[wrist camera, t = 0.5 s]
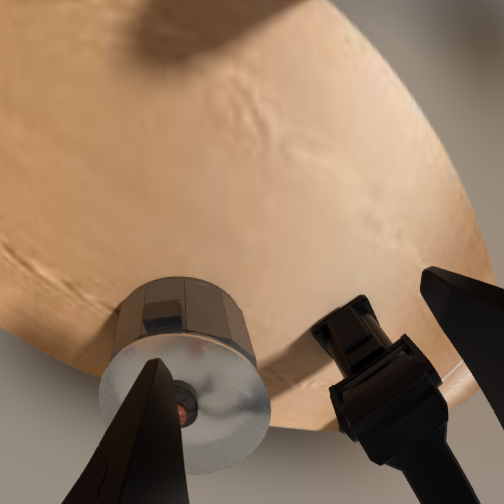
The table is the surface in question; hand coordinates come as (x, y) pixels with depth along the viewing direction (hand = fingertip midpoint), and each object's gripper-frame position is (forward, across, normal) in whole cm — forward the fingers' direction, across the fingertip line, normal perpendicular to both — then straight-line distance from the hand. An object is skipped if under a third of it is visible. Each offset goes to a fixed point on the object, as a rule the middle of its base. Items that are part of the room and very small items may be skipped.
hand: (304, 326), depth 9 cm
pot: (+13, +8, +10) cm, 18 cm away
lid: (+5, +8, +9) cm, 13 cm away
